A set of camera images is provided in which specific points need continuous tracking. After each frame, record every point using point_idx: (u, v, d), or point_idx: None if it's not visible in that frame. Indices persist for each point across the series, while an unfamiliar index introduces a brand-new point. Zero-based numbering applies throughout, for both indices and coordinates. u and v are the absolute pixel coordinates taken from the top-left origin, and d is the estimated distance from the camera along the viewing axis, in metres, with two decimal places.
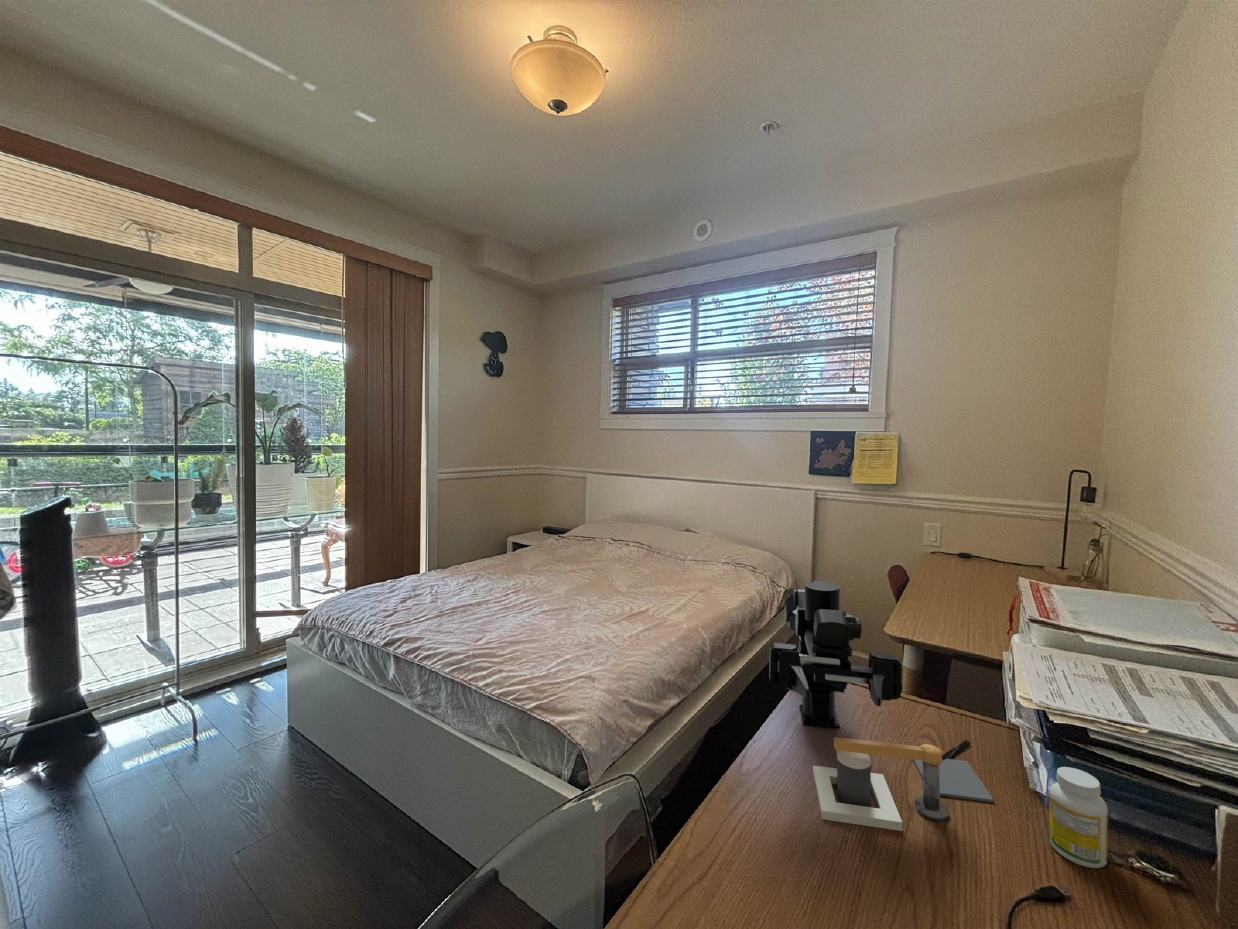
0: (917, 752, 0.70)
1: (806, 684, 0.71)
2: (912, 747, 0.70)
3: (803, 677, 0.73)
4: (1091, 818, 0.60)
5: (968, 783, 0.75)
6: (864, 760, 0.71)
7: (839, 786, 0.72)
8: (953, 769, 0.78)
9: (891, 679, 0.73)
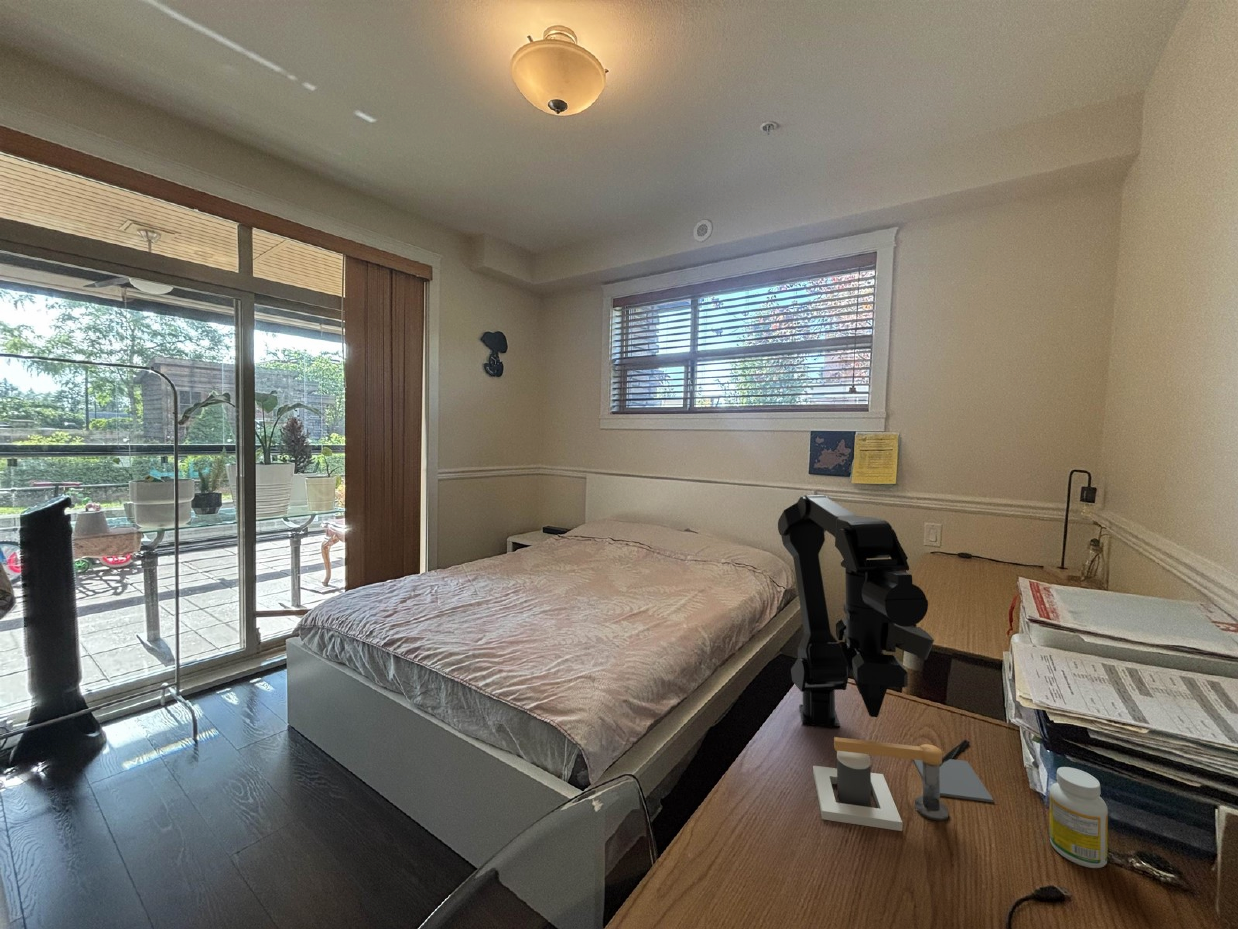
0: (917, 752, 0.70)
1: None
2: (912, 747, 0.70)
3: None
4: (1091, 818, 0.59)
5: (968, 783, 0.75)
6: (864, 760, 0.71)
7: (839, 786, 0.72)
8: (953, 769, 0.78)
9: None
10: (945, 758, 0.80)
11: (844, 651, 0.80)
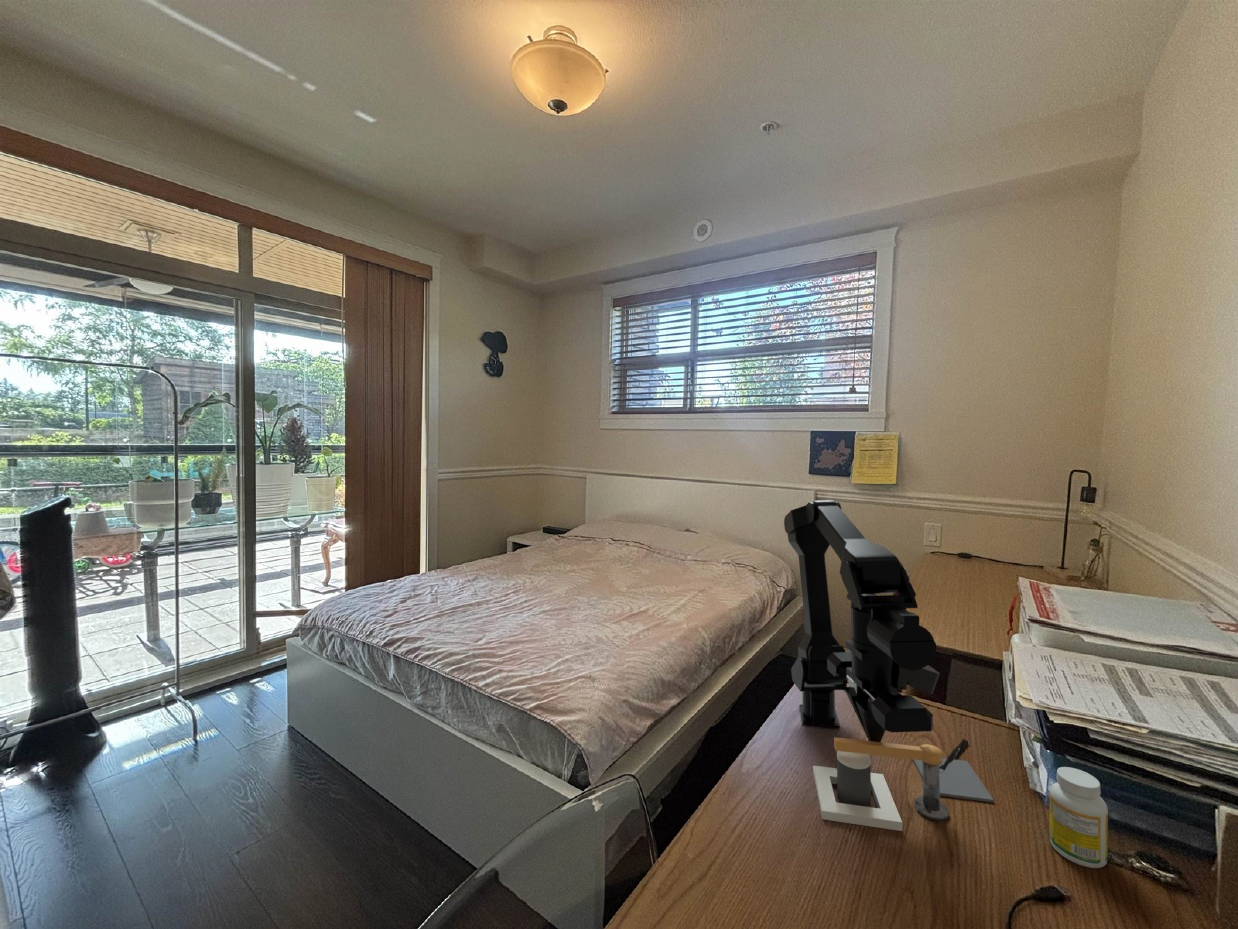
0: (917, 752, 0.70)
1: None
2: (912, 747, 0.70)
3: None
4: (1091, 818, 0.59)
5: (968, 783, 0.75)
6: (864, 760, 0.71)
7: (839, 786, 0.72)
8: (953, 769, 0.78)
9: None
10: (949, 760, 0.80)
11: (854, 699, 0.73)
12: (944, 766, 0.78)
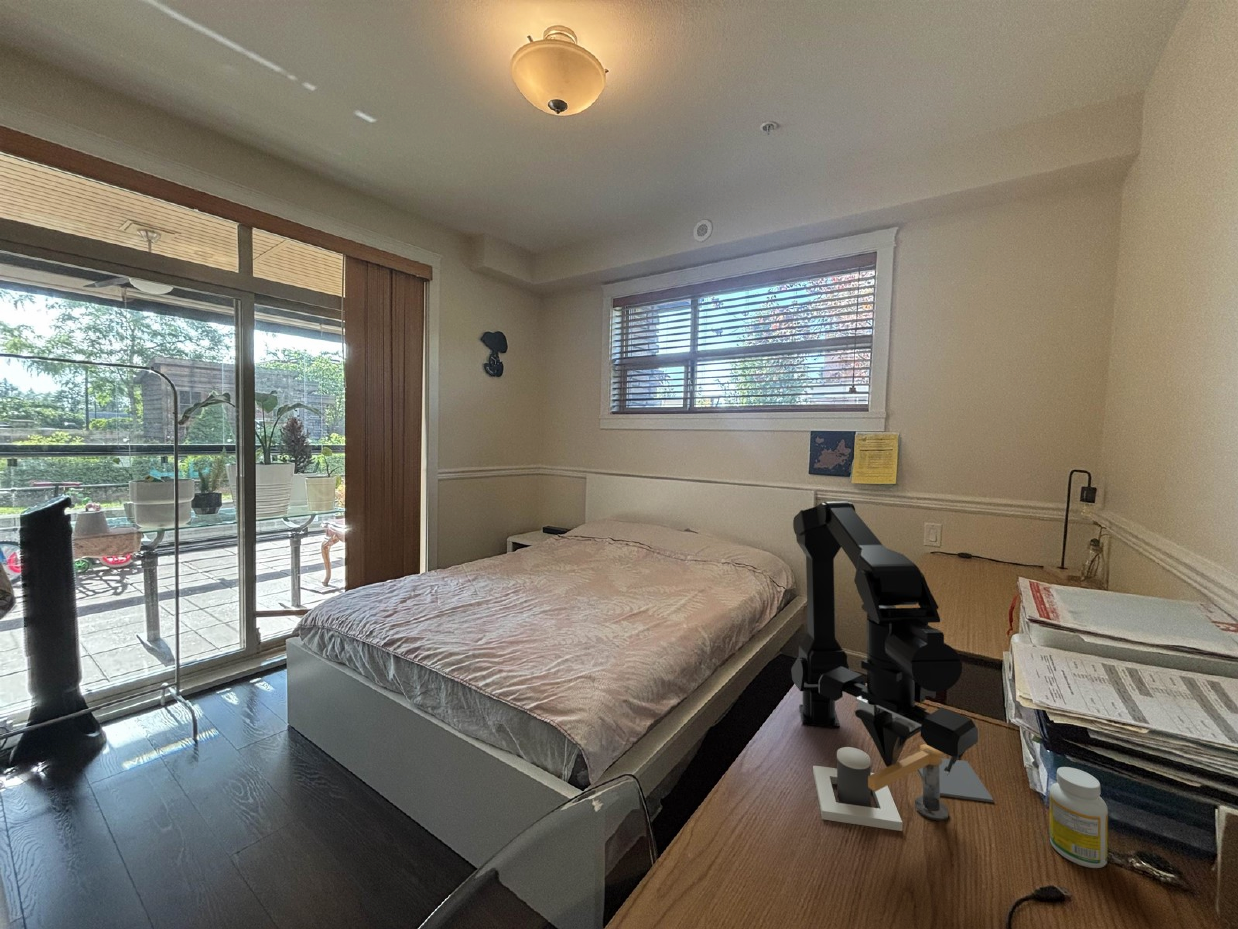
0: (926, 757, 0.68)
1: None
2: (920, 754, 0.69)
3: None
4: (1091, 818, 0.59)
5: (968, 783, 0.75)
6: (864, 760, 0.71)
7: (839, 786, 0.72)
8: (953, 769, 0.78)
9: None
10: (952, 761, 0.80)
11: (875, 724, 0.67)
12: (949, 768, 0.78)
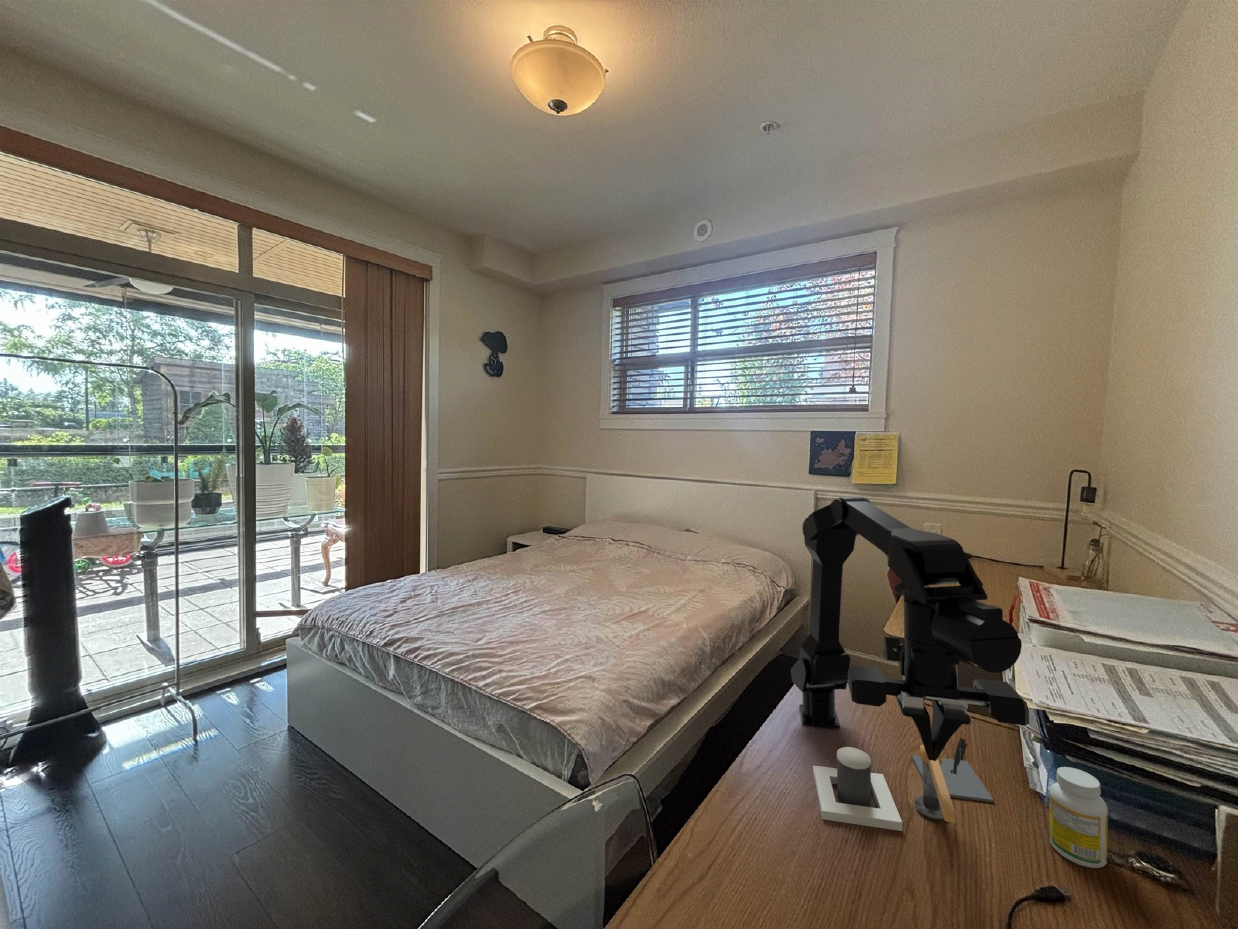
0: None
1: None
2: None
3: None
4: (1091, 818, 0.60)
5: (968, 783, 0.75)
6: (864, 760, 0.71)
7: (839, 786, 0.72)
8: None
9: None
10: (956, 762, 0.79)
11: (929, 718, 0.61)
12: (955, 770, 0.77)
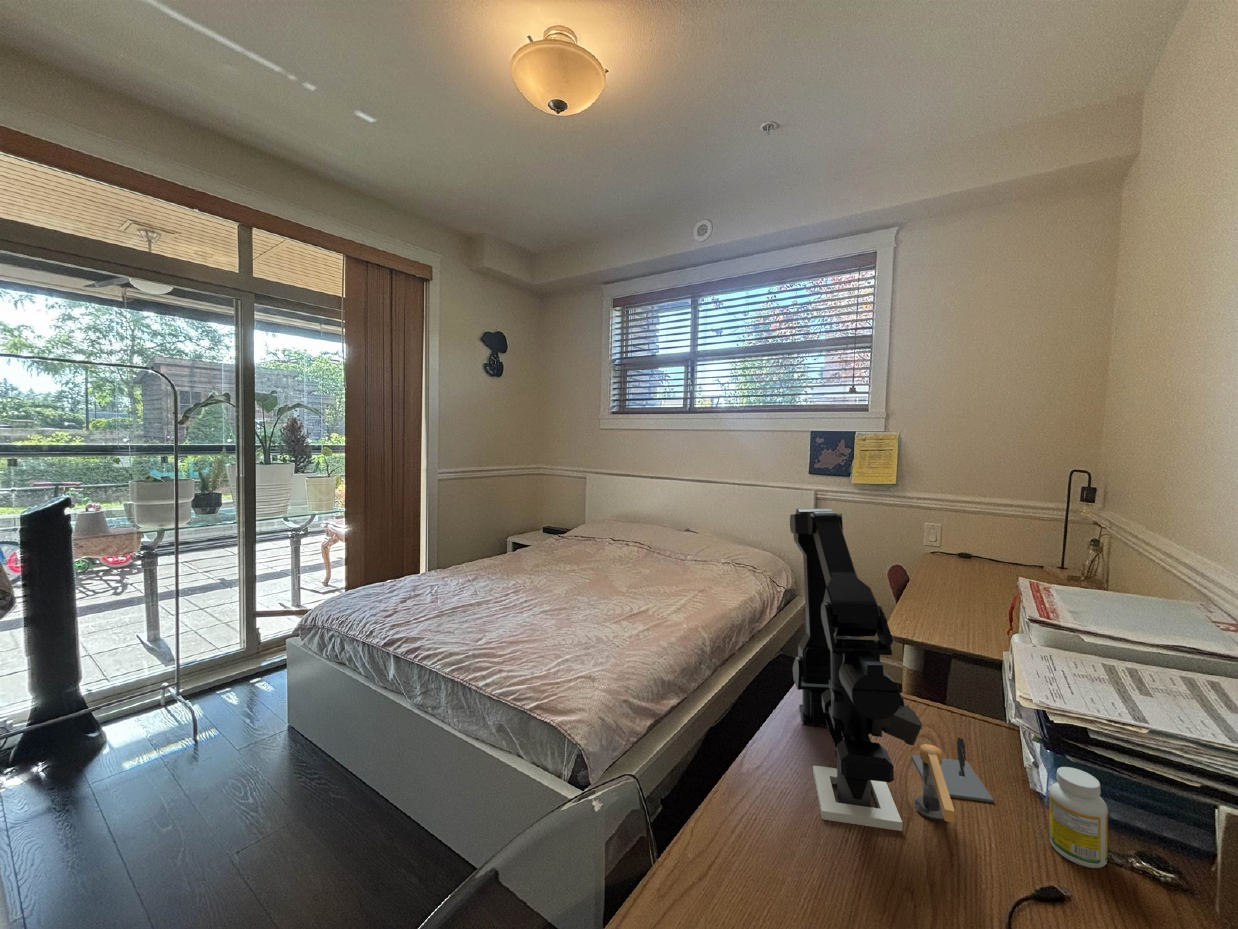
0: None
1: None
2: (933, 759, 0.68)
3: None
4: (1091, 818, 0.60)
5: (968, 783, 0.75)
6: None
7: (839, 786, 0.72)
8: (953, 769, 0.78)
9: None
10: (962, 764, 0.79)
11: (830, 730, 0.76)
12: (963, 772, 0.77)
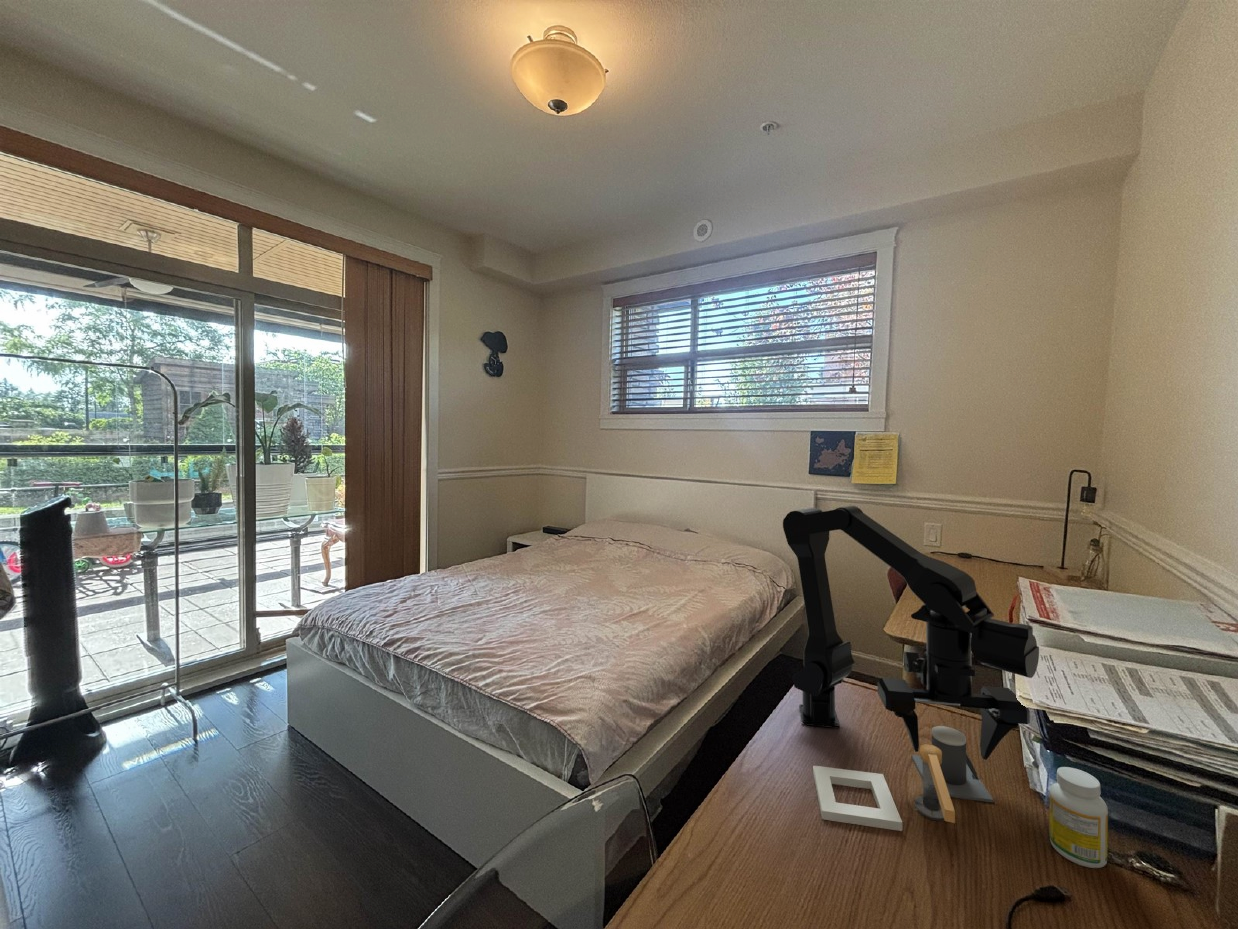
0: None
1: None
2: (933, 759, 0.68)
3: None
4: (1091, 818, 0.59)
5: (968, 783, 0.75)
6: (950, 729, 0.77)
7: (959, 770, 0.74)
8: None
9: None
10: (971, 765, 0.78)
11: None
12: (976, 775, 0.76)
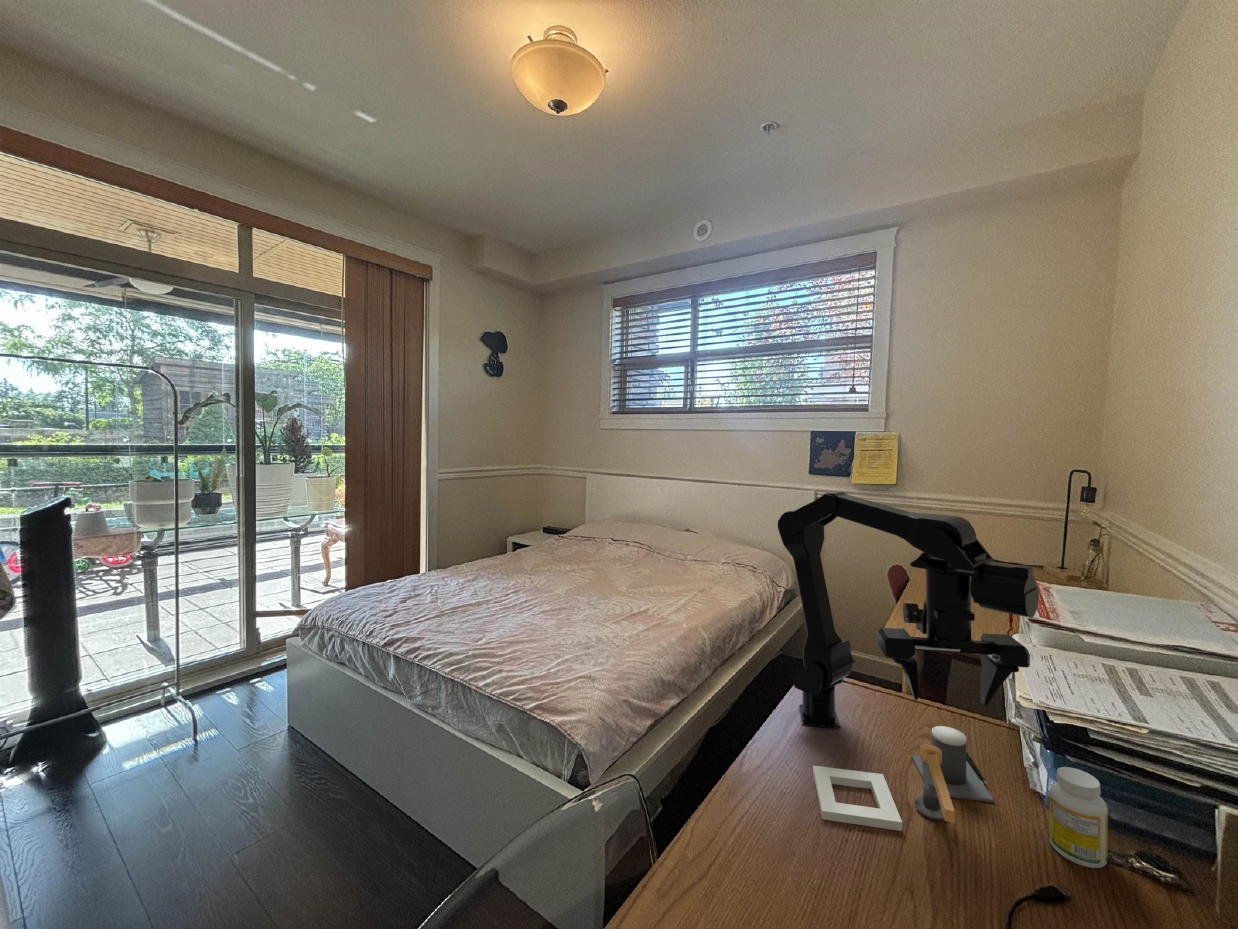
0: None
1: None
2: (933, 759, 0.68)
3: None
4: (1091, 818, 0.59)
5: (968, 783, 0.75)
6: (950, 729, 0.77)
7: (959, 770, 0.74)
8: None
9: None
10: (974, 766, 0.78)
11: (916, 664, 0.75)
12: (981, 776, 0.76)
